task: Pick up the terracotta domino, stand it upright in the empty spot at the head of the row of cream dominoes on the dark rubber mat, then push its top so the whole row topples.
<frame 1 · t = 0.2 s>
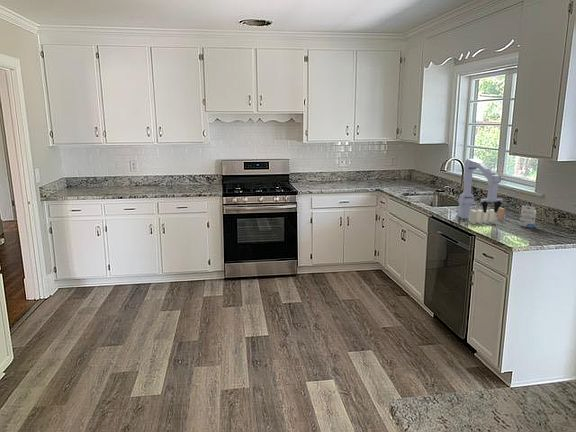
hand: (490, 212, 288), 10 cm above the countertop, tool pointing down, fingers open, 7 cm apart
ink box: (526, 226, 291), on the countertop
cream domino 5: (472, 223, 297), resting on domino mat
cream domino 3: (485, 222, 299), resting on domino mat
cream domino 4: (479, 222, 298), resting on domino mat
terracotta domino: (500, 220, 306), resting on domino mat
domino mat: (486, 222, 302), on the countertop
cream domino 2: (491, 222, 300), resting on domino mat
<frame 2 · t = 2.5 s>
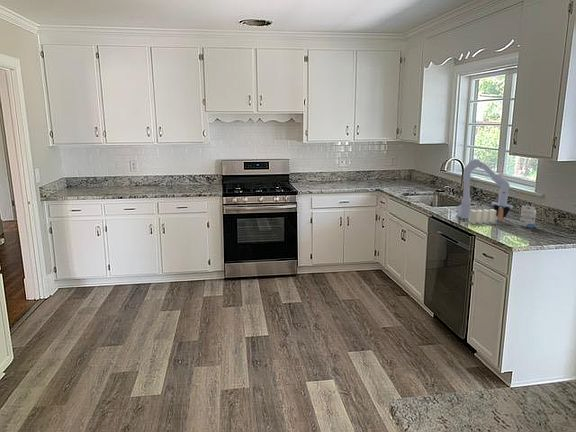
hand: (500, 216, 306), 3 cm above the countertop, tool pointing down, fingers closed on terracotta domino, 5 cm apart
terracotta domino: (500, 220, 306), resting on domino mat, touching gripper
everything else where it was.
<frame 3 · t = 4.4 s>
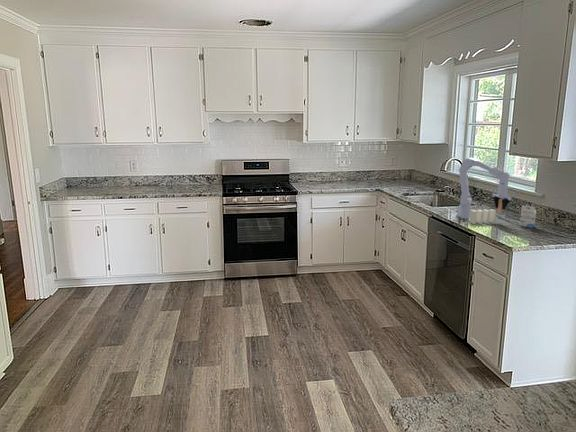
hand: (500, 208, 299), 10 cm above the countertop, tool pointing down, fingers closed on terracotta domino, 5 cm apart
terracotta domino: (499, 212, 300), point 7 cm above the countertop, touching gripper
everything else where it was.
when the fingers open (4 cm above the countertop, at t = 6.5 s): terracotta domino stays where it is, resting on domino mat.
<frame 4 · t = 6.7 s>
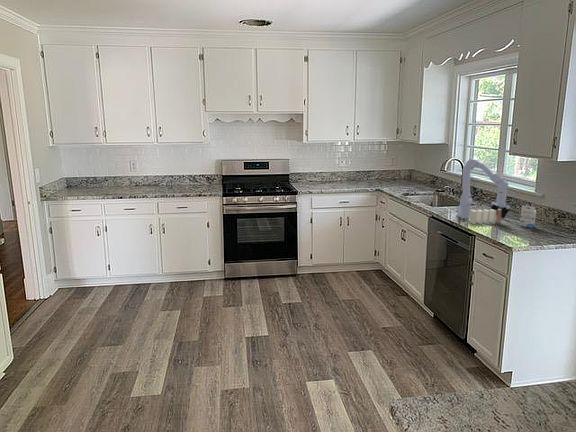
hand: (498, 216, 300), 4 cm above the countertop, tool pointing down, fingers open, 7 cm apart
terracotta domino: (498, 222, 301), resting on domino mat
everything else where it was.
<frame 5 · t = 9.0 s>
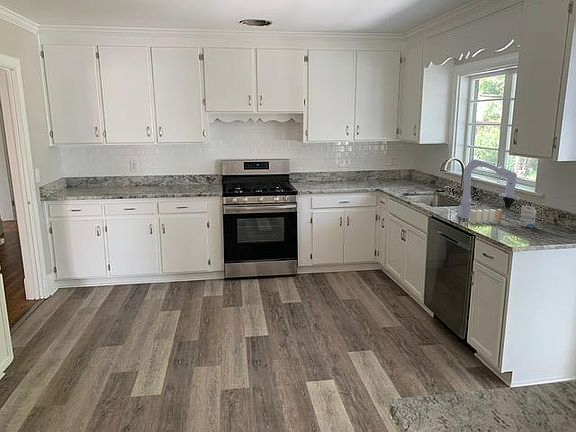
hand: (507, 208, 299), 10 cm above the countertop, tool pointing down, fingers closed
nothing on the countertop moved.
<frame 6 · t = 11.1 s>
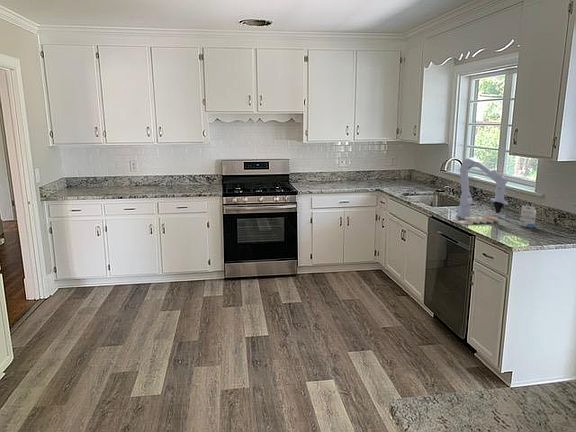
hand: (497, 212, 299), 7 cm above the countertop, tool pointing down, fingers closed
cream domino 5: (471, 222, 297), point 1 cm above the countertop, tilted 93°, touching cream domino 4, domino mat
cream domino 3: (484, 221, 299), point 1 cm above the countertop, tilted 72°, touching cream domino 2, cream domino 4, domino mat
cream domino 4: (477, 221, 298), point 1 cm above the countertop, tilted 70°, touching cream domino 3, cream domino 5, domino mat
terracotta domino: (497, 220, 301), point 1 cm above the countertop, tilted 73°, touching cream domino 2, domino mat
cream domino 2: (490, 221, 300), point 1 cm above the countertop, tilted 71°, touching cream domino 3, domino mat, terracotta domino
everything else where it was.
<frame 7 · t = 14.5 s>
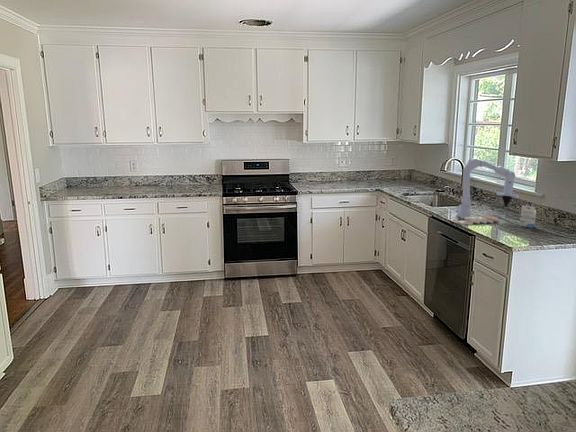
hand: (505, 206, 306), 10 cm above the countertop, tool pointing down, fingers closed
nothing on the countertop moved.
at the end: cream domino 5 tilted 93°; cream domino 3 tilted 72°; terracotta domino 0.4 cm from the target spot, point 1.3 cm above the countertop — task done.
